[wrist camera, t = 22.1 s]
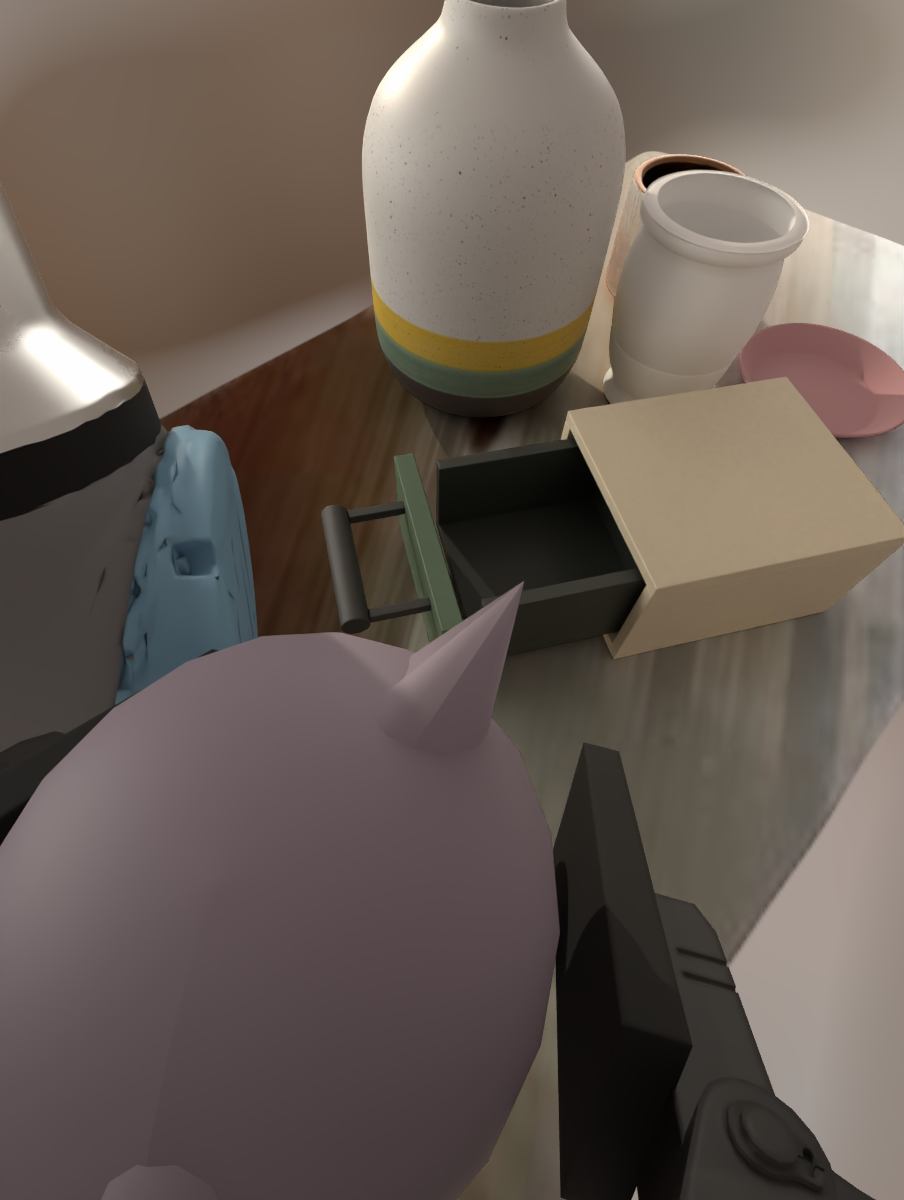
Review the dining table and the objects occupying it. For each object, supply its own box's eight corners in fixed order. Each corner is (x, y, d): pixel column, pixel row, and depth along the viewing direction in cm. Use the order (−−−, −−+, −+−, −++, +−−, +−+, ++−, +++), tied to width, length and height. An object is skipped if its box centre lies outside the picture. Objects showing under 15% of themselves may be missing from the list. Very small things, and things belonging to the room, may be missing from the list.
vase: (599, 426, 49) (723, 42, 28) (396, 453, 47) (369, 58, 26) (541, 304, 57) (604, -62, 36) (367, 322, 55) (328, -57, 34)
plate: (696, 382, 52) (705, 362, 50) (792, 323, 57) (803, 303, 55) (837, 480, 46) (853, 462, 45) (930, 406, 51) (947, 387, 50)
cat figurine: (319, 717, 18) (165, 402, 8) (565, 833, 16) (795, 640, 6) (129, 1036, 14) (-766, 1303, 3) (433, 1227, 12) (446, 2665, 2)
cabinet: (612, 659, 38) (656, 589, 31) (544, 499, 45) (567, 410, 37) (825, 611, 40) (913, 535, 33) (730, 466, 47) (786, 375, 40)
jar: (715, 368, 53) (807, 181, 40) (710, 449, 48) (814, 264, 35) (598, 345, 54) (650, 156, 41) (581, 421, 49) (634, 233, 36)
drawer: (358, 702, 35) (343, 652, 29) (328, 537, 41) (311, 469, 35) (659, 635, 38) (701, 577, 32) (590, 490, 44) (614, 420, 38)
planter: (733, 289, 59) (782, 183, 51) (677, 339, 55) (721, 231, 47) (641, 247, 63) (673, 141, 55) (582, 290, 58) (607, 182, 50)
